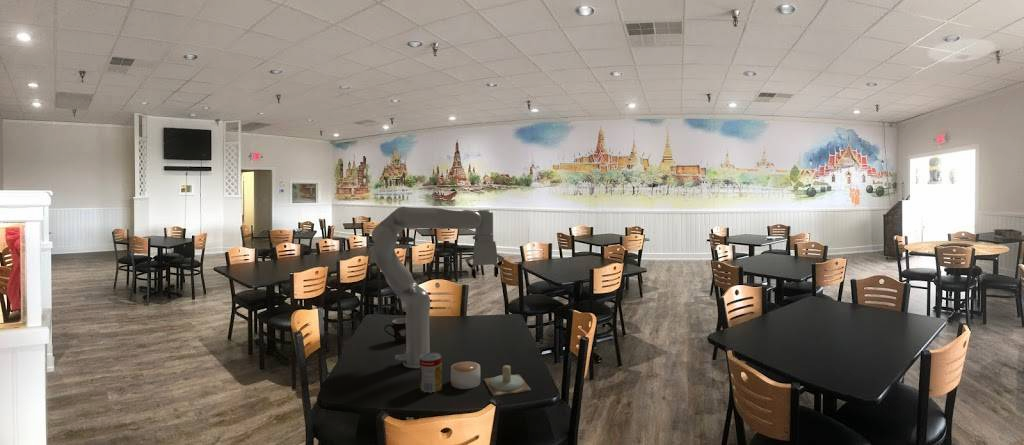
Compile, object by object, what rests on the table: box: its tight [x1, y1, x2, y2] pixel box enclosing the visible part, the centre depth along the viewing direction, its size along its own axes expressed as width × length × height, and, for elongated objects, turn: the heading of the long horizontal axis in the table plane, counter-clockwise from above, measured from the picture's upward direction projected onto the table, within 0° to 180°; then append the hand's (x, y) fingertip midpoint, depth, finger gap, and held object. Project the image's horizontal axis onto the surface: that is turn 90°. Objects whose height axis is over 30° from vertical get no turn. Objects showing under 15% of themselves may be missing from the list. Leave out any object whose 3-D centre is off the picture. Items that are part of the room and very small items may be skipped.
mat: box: [483, 373, 532, 397], centre depth 176 cm, size 14×14×1 cm
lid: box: [490, 364, 524, 391], centre depth 175 cm, size 12×12×6 cm
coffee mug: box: [383, 317, 406, 345], centre depth 224 cm, size 12×9×10 cm
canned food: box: [419, 352, 443, 394], centre depth 173 cm, size 8×8×12 cm
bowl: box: [450, 361, 481, 390], centre depth 178 cm, size 11×11×6 cm
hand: (485, 277), depth 208 cm, fingers open, 9 cm apart
